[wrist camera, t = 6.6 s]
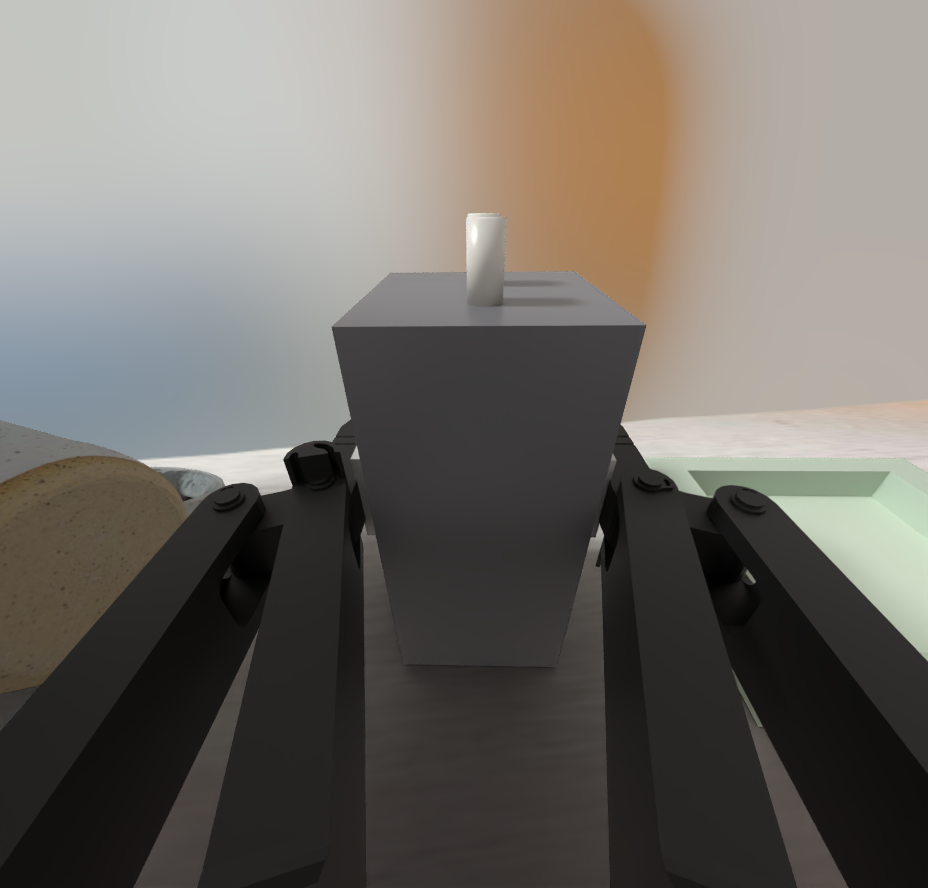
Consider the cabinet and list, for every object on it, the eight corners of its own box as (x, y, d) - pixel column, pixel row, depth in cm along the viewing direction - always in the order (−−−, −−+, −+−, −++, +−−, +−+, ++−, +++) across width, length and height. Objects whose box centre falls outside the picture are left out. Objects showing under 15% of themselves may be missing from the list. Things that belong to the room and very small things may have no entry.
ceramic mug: (36, 758, 10) (-264, 584, 6) (-156, 687, 12) (-500, 509, 8) (279, 504, 19) (225, 360, 15) (150, 482, 20) (68, 346, 16)
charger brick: (403, 664, 12) (310, 225, 5) (421, 544, 16) (383, 212, 9) (556, 667, 12) (673, 221, 5) (535, 545, 16) (583, 209, 9)
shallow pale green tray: (758, 726, 11) (797, 690, 9) (633, 493, 19) (645, 457, 18) (1197, 736, 10) (1301, 700, 9) (874, 495, 19) (904, 458, 17)
